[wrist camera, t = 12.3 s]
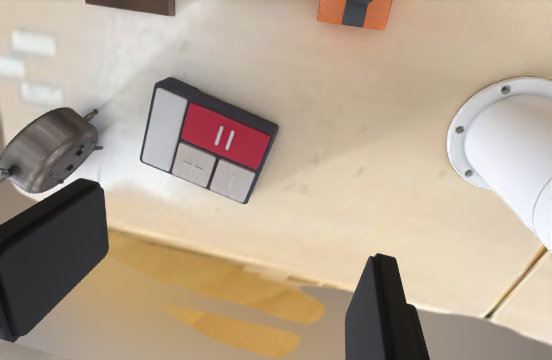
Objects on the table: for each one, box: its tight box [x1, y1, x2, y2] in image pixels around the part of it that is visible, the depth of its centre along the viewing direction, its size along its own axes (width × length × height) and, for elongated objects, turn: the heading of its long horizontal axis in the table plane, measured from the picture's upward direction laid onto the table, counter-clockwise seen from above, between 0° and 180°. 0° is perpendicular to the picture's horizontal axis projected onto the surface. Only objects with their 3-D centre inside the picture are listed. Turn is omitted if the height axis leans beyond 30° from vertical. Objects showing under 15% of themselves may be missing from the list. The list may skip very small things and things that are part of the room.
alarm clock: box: [0, 107, 103, 194], centre depth 38 cm, size 11×5×16 cm, turn 138°
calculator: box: [140, 77, 279, 204], centre depth 40 cm, size 11×4×15 cm
